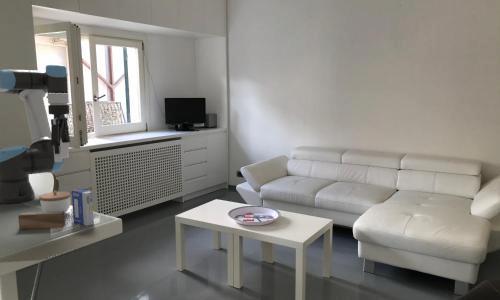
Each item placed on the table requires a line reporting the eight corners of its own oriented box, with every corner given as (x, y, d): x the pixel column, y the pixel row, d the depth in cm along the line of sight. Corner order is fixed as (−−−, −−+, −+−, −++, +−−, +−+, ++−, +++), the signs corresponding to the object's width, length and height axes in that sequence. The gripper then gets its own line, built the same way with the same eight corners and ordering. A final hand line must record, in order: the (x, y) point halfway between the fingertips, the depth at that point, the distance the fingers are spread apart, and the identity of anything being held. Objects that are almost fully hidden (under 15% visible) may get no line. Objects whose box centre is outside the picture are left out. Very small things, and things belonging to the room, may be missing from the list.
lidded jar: (77, 212, 157) (76, 189, 156) (52, 220, 148) (50, 195, 146) (60, 209, 162) (59, 186, 161) (34, 215, 153) (33, 191, 152)
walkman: (73, 222, 145) (71, 189, 144) (80, 220, 147) (78, 188, 146) (87, 225, 141) (85, 192, 139) (94, 223, 143) (92, 191, 142)
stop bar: (22, 226, 140) (21, 212, 140) (65, 224, 142) (64, 211, 142) (19, 229, 137) (18, 215, 137) (62, 227, 139) (61, 213, 139)
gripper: (57, 103, 171) (60, 156, 174) (38, 105, 149) (43, 164, 152) (75, 103, 172) (78, 155, 175) (60, 104, 151) (64, 164, 154)
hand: (62, 159), depth 164 cm, fingers open, 9 cm apart
